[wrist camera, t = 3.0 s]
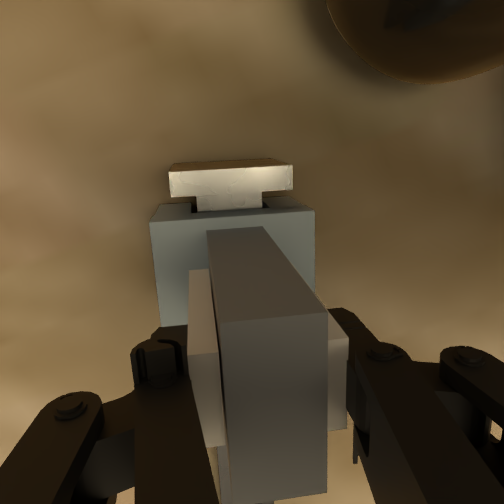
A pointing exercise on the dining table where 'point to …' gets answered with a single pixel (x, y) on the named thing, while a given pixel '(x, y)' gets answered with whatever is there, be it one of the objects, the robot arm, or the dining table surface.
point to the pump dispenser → (423, 36)
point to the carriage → (257, 336)
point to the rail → (223, 199)
